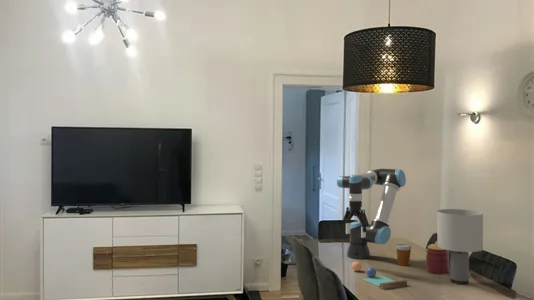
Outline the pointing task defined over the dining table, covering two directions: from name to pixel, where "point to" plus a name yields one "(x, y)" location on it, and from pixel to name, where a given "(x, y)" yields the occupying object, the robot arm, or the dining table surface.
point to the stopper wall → (393, 284)
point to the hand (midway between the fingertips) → (355, 235)
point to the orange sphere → (356, 266)
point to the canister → (437, 259)
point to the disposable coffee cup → (403, 254)
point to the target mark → (378, 280)
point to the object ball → (371, 272)
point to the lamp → (460, 239)
